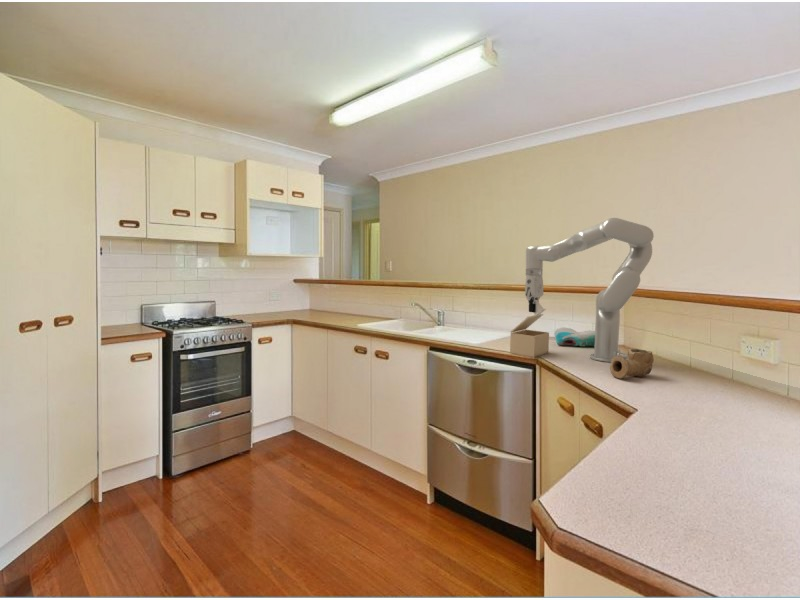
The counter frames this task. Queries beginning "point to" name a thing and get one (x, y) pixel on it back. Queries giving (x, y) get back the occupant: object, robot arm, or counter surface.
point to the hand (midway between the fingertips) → (533, 311)
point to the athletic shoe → (574, 337)
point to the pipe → (632, 364)
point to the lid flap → (530, 318)
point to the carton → (529, 343)
